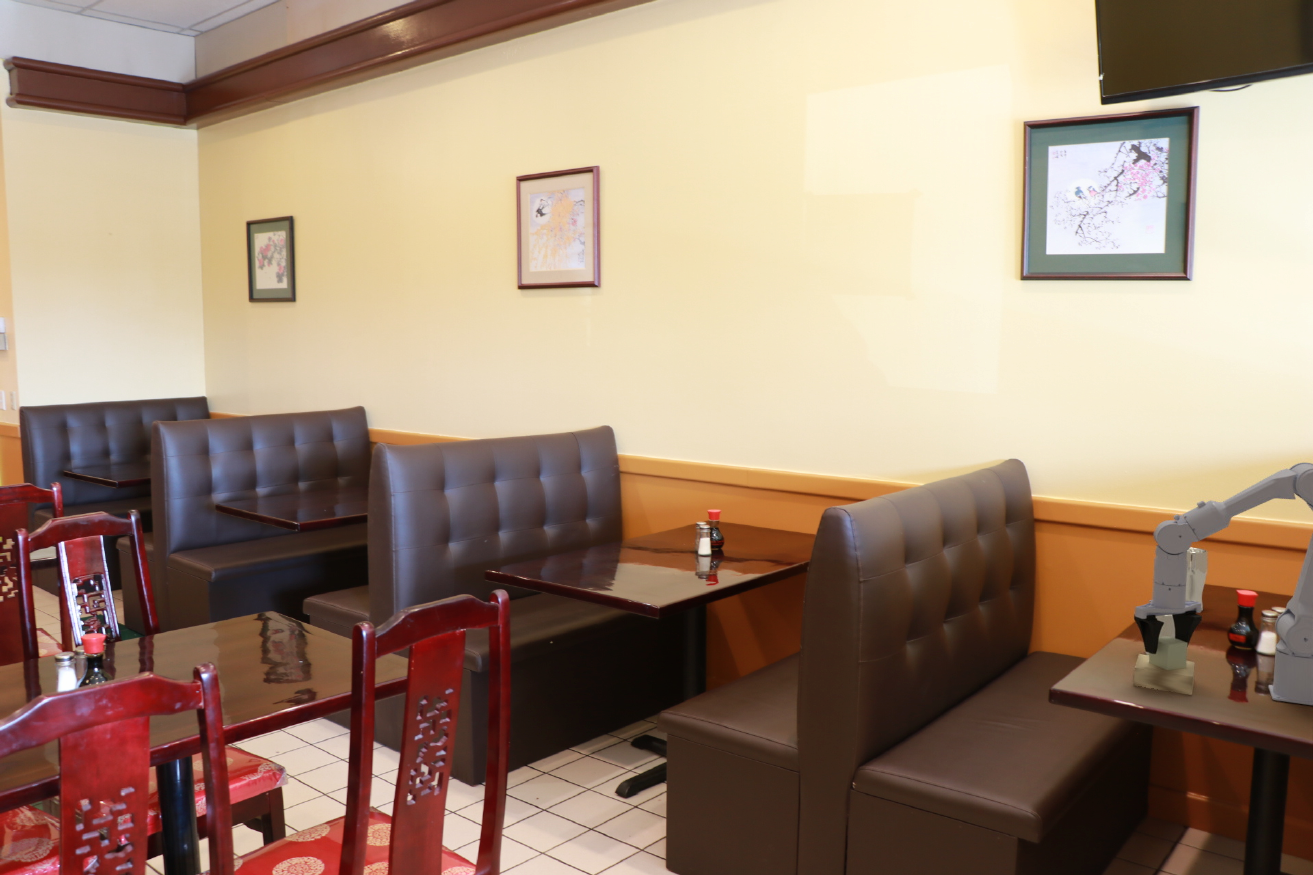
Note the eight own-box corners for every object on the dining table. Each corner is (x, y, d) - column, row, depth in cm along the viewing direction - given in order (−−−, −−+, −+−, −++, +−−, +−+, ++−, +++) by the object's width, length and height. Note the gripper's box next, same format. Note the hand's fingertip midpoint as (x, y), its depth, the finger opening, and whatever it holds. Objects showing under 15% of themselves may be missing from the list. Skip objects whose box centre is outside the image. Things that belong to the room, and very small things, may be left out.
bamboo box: (1193, 681, 196) (1194, 661, 196) (1191, 696, 188) (1193, 676, 187) (1137, 672, 201) (1138, 653, 201) (1133, 687, 193) (1134, 667, 192)
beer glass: (1176, 610, 246) (1179, 551, 245) (1170, 603, 253) (1174, 546, 252) (1207, 613, 244) (1211, 553, 243) (1201, 606, 251) (1204, 547, 250)
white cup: (1185, 654, 212) (1187, 609, 211) (1183, 665, 205) (1185, 617, 204) (1144, 648, 216) (1146, 603, 215) (1141, 658, 209) (1143, 612, 208)
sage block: (1167, 660, 197) (1168, 636, 196) (1186, 667, 192) (1187, 642, 192) (1148, 662, 195) (1150, 638, 195) (1167, 670, 191) (1168, 644, 191)
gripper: (1181, 575, 199) (1178, 641, 200) (1124, 580, 194) (1120, 648, 195) (1211, 583, 192) (1207, 651, 193) (1152, 589, 187) (1149, 659, 189)
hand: (1166, 650), depth 194 cm, fingers open, 7 cm apart
